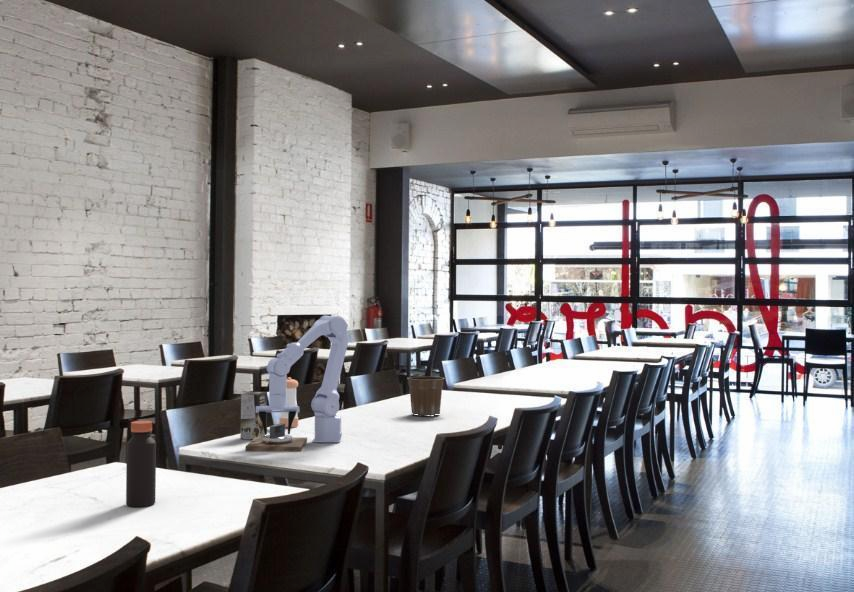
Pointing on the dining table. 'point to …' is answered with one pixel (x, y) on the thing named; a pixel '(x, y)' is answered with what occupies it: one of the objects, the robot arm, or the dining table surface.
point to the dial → (277, 435)
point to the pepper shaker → (290, 402)
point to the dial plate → (276, 445)
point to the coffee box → (252, 414)
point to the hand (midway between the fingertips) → (277, 433)
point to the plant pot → (425, 394)
